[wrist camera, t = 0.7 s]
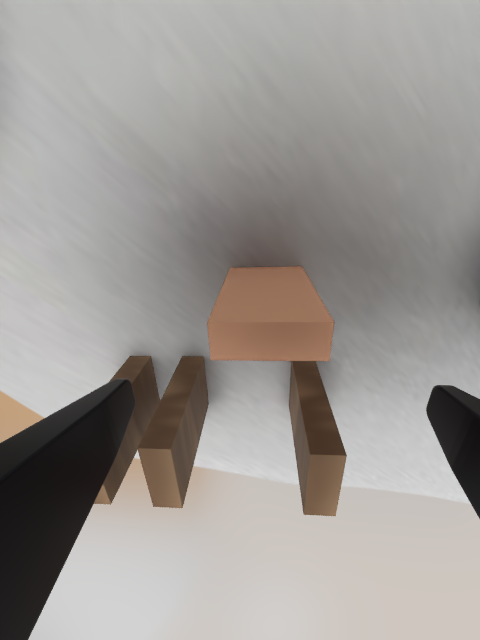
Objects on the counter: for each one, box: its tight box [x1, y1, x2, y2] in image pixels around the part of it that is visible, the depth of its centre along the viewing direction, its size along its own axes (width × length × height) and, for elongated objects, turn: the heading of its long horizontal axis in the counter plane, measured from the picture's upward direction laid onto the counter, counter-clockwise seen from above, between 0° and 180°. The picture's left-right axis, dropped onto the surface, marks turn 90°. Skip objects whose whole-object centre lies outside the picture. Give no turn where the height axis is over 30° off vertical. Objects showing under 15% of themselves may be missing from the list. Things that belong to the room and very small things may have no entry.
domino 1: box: [94, 356, 160, 504], centre depth 20 cm, size 2×5×9 cm, turn 2°
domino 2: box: [137, 356, 209, 508], centre depth 19 cm, size 2×5×9 cm, turn 2°
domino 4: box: [289, 361, 347, 516], centre depth 19 cm, size 2×5×9 cm, turn 2°
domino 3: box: [207, 266, 334, 361], centre depth 15 cm, size 2×5×9 cm, turn 93°
